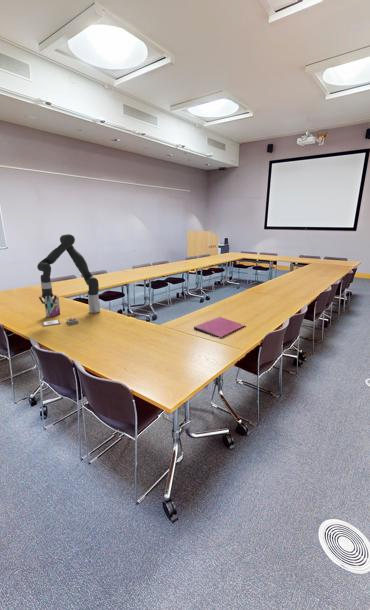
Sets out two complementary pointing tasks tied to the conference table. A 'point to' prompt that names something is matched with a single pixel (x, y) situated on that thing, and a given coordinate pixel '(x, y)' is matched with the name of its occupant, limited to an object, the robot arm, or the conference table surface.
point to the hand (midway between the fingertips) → (49, 307)
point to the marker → (48, 305)
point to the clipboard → (51, 323)
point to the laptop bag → (218, 327)
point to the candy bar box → (53, 308)
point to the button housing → (72, 321)
